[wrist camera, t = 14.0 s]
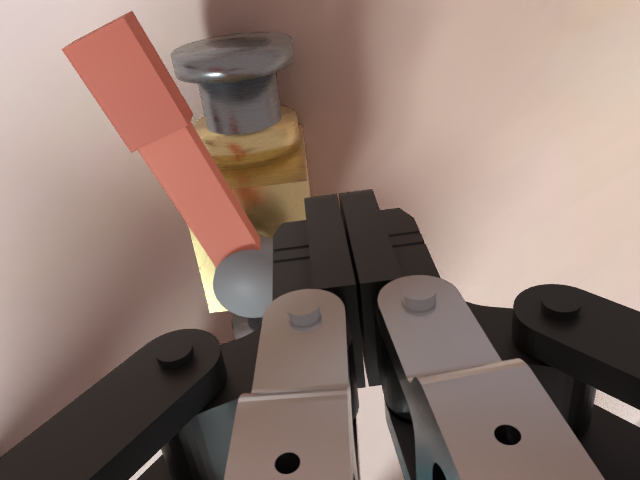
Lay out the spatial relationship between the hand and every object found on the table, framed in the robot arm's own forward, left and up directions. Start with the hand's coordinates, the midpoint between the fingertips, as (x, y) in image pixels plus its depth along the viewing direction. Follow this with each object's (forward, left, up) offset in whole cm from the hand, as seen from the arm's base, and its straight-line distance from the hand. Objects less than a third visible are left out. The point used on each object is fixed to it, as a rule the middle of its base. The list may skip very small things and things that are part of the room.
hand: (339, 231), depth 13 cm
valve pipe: (-9, +4, -22) cm, 24 cm away
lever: (-4, +5, -12) cm, 14 cm away
